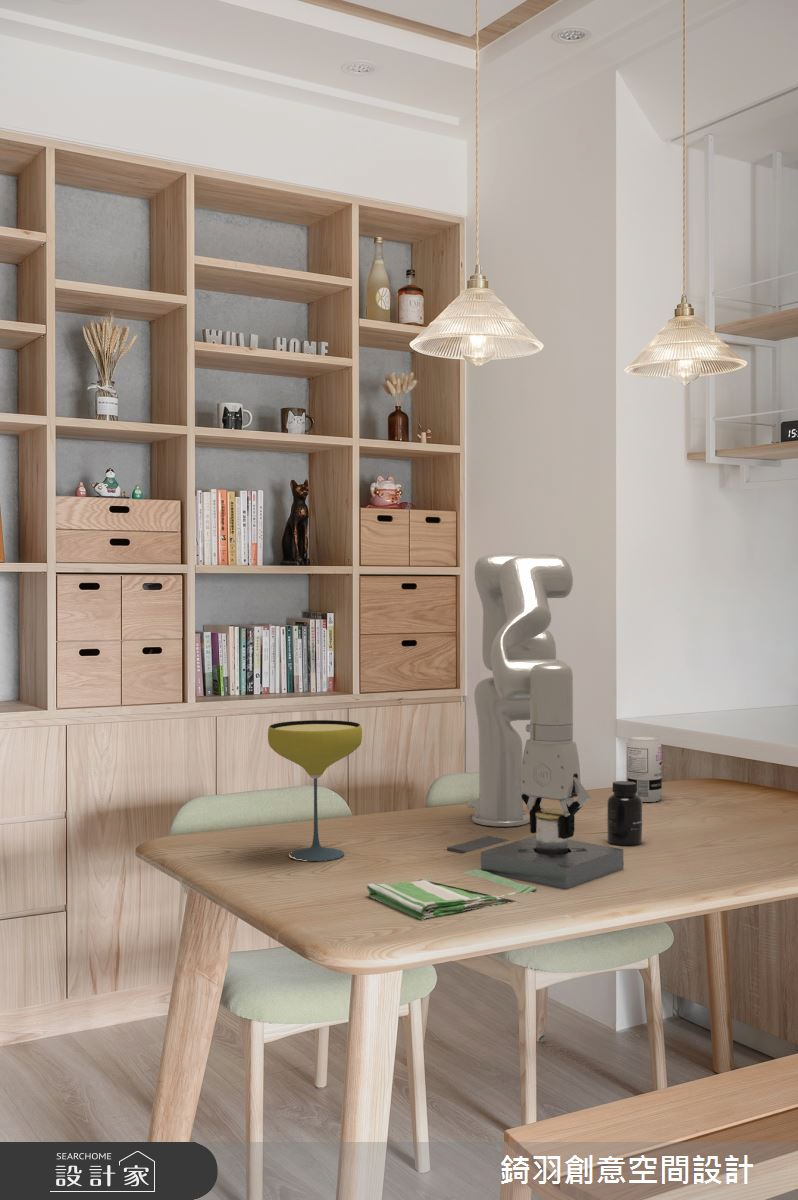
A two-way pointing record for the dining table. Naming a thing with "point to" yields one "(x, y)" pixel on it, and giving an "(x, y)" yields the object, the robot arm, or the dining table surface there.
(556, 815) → the can with gold end
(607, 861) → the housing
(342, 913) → the dining table surface
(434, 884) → the dish towel
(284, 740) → the cocktail glass
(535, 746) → the robot arm
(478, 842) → the mat
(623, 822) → the supplement bottle
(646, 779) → the supplement can
